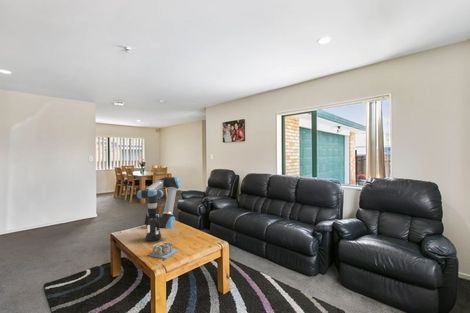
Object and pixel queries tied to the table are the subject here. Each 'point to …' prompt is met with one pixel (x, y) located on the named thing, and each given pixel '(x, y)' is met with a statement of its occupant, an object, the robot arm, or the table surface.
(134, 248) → the table surface
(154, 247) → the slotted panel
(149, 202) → the robot arm
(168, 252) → the boss board
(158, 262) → the table surface
